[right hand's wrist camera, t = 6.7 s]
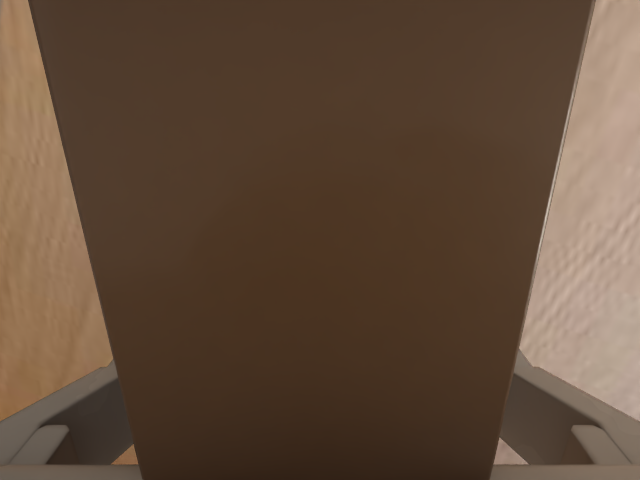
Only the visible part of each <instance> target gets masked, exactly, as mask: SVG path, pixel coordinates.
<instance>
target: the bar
mask: <svg viewBox="0 0 640 480" xmlns="http://www.w3.org/2000/svg"><path fill="white" fill-rule="evenodd" d="M28 2H29V6H30V10H31V15H32V19H33V23H34V27H35V31H36V36H37V40H38V44H39V48H40V52H41V57H42V61H43V65H44V69H45V73H46V78H47V82H48V86H49V90H50V94H51V99H52V103H53V107H54V111H55V115H56V120H57V124H58V128H59V132H60V136H61V141H62V145H63V149H64V153H65V157H66V161H67V166H68V170H69V174H70V178H71V182H72V187H73V191H74V195H75V199H76V203H77V208H78V212H79V216H80V220H81V224H82V229H83V233H84V237H85V241H86V245H87V250H88V254H89V258H90V262H91V266H92V271H93V275H94V279H95V283H96V287H97V292H98V296H99V300H100V304H101V308H102V313H103V317H104V321H105V325H106V329H107V334H108V338H109V342H110V346H111V350H112V355H113V359H114V363H115V367H116V371H117V376H118V380H119V384H120V388H121V392H122V397H123V401H124V405H125V409H126V413H127V418H128V422H129V426H130V430H131V434H132V439H133V443H134V447H135V451H136V455H137V460H138V464H139V468H140V472H141V476H142V480H490V477H491V472H492V468H493V463H494V459H495V454H496V450H497V445H498V441H499V436H500V432H501V427H502V422H503V418H504V413H505V409H506V404H507V400H508V395H509V391H510V386H511V382H512V377H513V373H514V368H515V364H516V359H517V355H518V350H519V346H520V341H521V336H522V332H523V327H524V323H525V318H526V314H527V309H528V305H529V300H530V296H531V291H532V287H533V282H534V278H535V273H536V269H537V264H538V260H539V255H540V251H541V246H542V241H543V237H544V232H545V228H546V223H547V219H548V214H549V210H550V205H551V201H552V196H553V192H554V187H555V183H556V178H557V174H558V169H559V165H560V160H561V155H562V151H563V146H564V142H565V137H566V133H567V128H568V124H569V119H570V115H571V110H572V106H573V101H574V97H575V92H576V88H577V83H578V79H579V74H580V69H581V65H582V60H583V56H584V51H585V47H586V42H587V38H588V33H589V29H590V24H591V20H592V15H593V11H594V6H595V2H596V0H28Z"/></svg>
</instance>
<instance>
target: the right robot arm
mask: <svg viewBox="0 0 640 480" xmlns="http://www.w3.org/2000/svg"><path fill="white" fill-rule="evenodd" d="M499 437H500V438H501V439H502V440H503V441H504V442H506V443H507V444H508V445H509V446H510V447H511V448H512V449H513V450H514V451H516V452H517V453H518V454H519V455H520V456H521V457H522V458H523V459H524V460H525V461H527V462H528V463H529V464H530V465H493V468H492V472H491V477H490V480H640V422H639V421H638V420H636V419H634V418H632V417H630V416H628V415H626V414H625V413H623V412H621V411H619V410H617V409H615V408H613V407H612V406H610V405H608V404H606V403H604V402H602V401H601V400H599V399H597V398H595V397H593V396H591V395H589V394H588V393H586V392H584V391H582V390H580V389H578V388H577V387H575V386H573V385H571V384H569V383H567V382H565V381H564V380H562V379H560V378H558V377H556V376H554V375H553V374H551V373H549V372H547V371H545V370H543V369H541V368H540V367H532V365H531V364H530V363H529V361H528V360H527V359H526V357H525V356H524V355H523V353H522V352H521V351H520V349H519V350H518V355H517V359H516V364H515V368H514V373H513V377H512V382H511V386H510V391H509V395H508V400H507V404H506V409H505V413H504V418H503V422H502V427H501V432H500V436H499ZM132 444H134V443H133V439H132V434H131V430H130V426H129V422H128V418H127V413H126V409H125V405H124V401H123V397H122V392H121V388H120V384H119V380H118V376H117V371H116V367H115V363H114V359H113V360H112V361H111V363H110V364H109V365H108V367H100V368H99V369H97V370H95V371H93V372H91V373H89V374H88V375H86V376H84V377H82V378H80V379H78V380H76V381H75V382H73V383H71V384H69V385H67V386H65V387H63V388H62V389H60V390H58V391H56V392H54V393H52V394H50V395H49V396H47V397H45V398H43V399H41V400H39V401H37V402H36V403H34V404H32V405H30V406H28V407H26V408H24V409H23V410H21V411H19V412H17V413H15V414H13V415H12V416H10V417H8V418H6V419H4V420H2V421H0V480H142V476H141V472H140V468H139V465H110V464H111V463H113V462H114V461H115V460H116V459H117V458H118V457H119V456H120V455H121V454H123V453H124V452H125V451H126V450H127V449H128V448H129V447H130V446H131V445H132Z"/></svg>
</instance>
